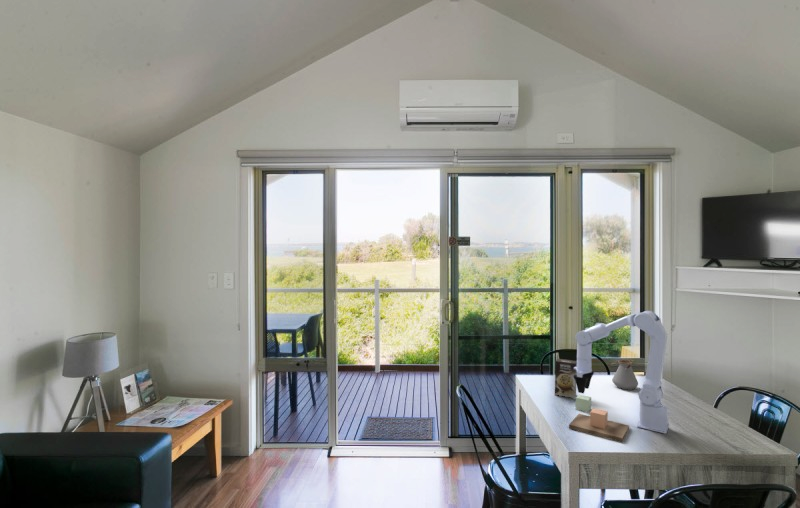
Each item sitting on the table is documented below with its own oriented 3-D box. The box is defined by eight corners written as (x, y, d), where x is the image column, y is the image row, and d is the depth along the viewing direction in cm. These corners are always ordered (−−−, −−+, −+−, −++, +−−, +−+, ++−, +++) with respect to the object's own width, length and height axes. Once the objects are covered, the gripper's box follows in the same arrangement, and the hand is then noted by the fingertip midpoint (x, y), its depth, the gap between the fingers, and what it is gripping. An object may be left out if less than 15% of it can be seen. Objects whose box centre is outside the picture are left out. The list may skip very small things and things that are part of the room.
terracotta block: (607, 424, 157) (607, 411, 157) (604, 428, 153) (604, 415, 153) (593, 421, 160) (593, 408, 160) (590, 425, 156) (590, 411, 156)
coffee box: (554, 395, 193) (554, 360, 193) (556, 391, 199) (556, 357, 198) (575, 399, 189) (576, 363, 189) (576, 394, 194) (577, 360, 194)
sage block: (591, 408, 177) (591, 397, 177) (587, 412, 173) (588, 400, 173) (578, 406, 180) (578, 394, 180) (575, 409, 176) (575, 397, 176)
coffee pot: (611, 382, 214) (611, 353, 214) (636, 385, 210) (636, 356, 210) (615, 395, 194) (615, 363, 194) (643, 399, 190) (643, 366, 190)
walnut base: (629, 429, 156) (629, 425, 156) (622, 442, 145) (622, 438, 145) (578, 417, 167) (578, 413, 167) (568, 428, 156) (569, 424, 156)
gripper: (578, 353, 185) (578, 384, 185) (569, 360, 173) (568, 392, 173) (595, 356, 180) (595, 387, 180) (587, 363, 169) (586, 396, 169)
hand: (583, 390), depth 177 cm, fingers open, 7 cm apart
